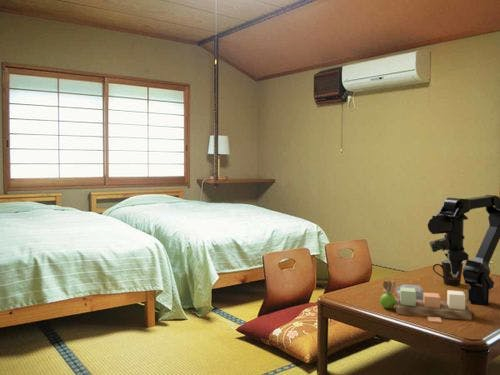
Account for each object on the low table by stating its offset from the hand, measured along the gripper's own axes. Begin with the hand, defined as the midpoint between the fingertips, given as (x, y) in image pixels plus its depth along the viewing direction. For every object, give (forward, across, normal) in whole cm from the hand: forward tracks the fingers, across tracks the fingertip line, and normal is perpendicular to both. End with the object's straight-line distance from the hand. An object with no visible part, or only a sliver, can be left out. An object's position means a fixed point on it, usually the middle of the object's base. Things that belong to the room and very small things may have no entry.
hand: (454, 274), depth 163 cm
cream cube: (+10, +8, 0) cm, 13 cm away
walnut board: (+12, +8, -8) cm, 17 cm away
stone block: (+12, -10, -15) cm, 22 cm away
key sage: (+10, +8, -16) cm, 21 cm away
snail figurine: (+12, +8, -23) cm, 27 cm away
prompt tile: (+12, +17, -8) cm, 22 cm away
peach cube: (+11, +8, -8) cm, 16 cm away
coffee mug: (+12, -33, +3) cm, 35 cm away
